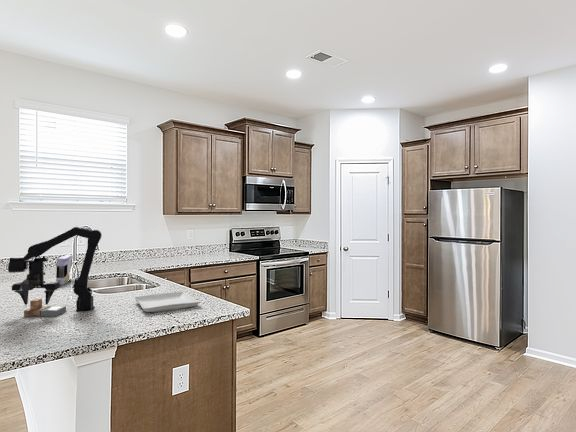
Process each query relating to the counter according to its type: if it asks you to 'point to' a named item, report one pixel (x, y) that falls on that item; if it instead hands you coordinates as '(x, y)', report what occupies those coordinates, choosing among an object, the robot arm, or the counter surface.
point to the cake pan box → (63, 269)
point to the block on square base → (35, 308)
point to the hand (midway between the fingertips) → (36, 304)
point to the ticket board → (53, 311)
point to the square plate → (166, 301)
